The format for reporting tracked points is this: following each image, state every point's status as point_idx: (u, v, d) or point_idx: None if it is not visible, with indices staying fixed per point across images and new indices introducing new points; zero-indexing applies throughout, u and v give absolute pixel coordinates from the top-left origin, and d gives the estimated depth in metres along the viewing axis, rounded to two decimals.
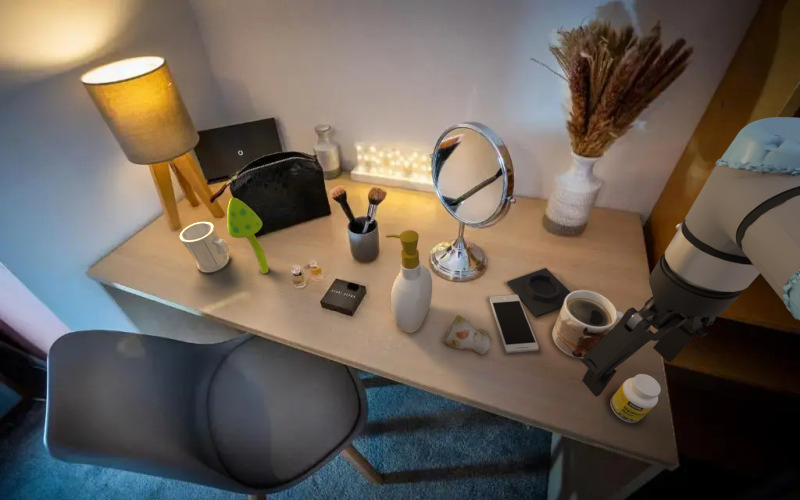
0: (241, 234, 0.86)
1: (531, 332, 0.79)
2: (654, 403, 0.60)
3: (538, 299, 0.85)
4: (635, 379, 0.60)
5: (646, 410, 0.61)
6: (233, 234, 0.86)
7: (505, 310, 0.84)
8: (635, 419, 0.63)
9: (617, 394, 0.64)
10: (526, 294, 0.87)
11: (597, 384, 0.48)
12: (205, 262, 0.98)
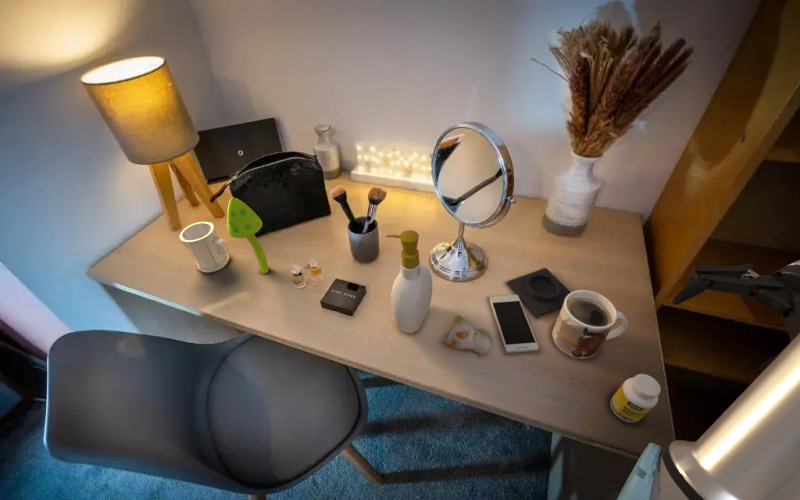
0: (241, 234, 0.86)
1: (531, 332, 0.79)
2: (654, 403, 0.60)
3: (538, 299, 0.85)
4: (635, 379, 0.60)
5: (646, 410, 0.61)
6: (233, 234, 0.86)
7: (505, 310, 0.84)
8: (635, 419, 0.63)
9: (617, 394, 0.64)
10: (526, 294, 0.87)
11: None
12: (205, 262, 0.98)
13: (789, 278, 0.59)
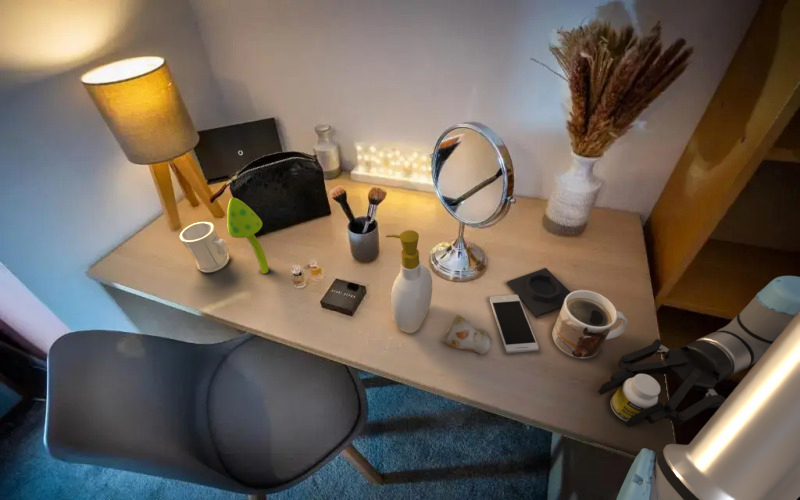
0: (241, 234, 0.86)
1: (531, 332, 0.79)
2: (654, 403, 0.60)
3: (538, 299, 0.85)
4: (635, 379, 0.60)
5: None
6: (233, 234, 0.86)
7: (505, 310, 0.84)
8: None
9: (617, 394, 0.64)
10: (526, 294, 0.87)
11: None
12: (205, 262, 0.98)
13: (694, 354, 0.65)
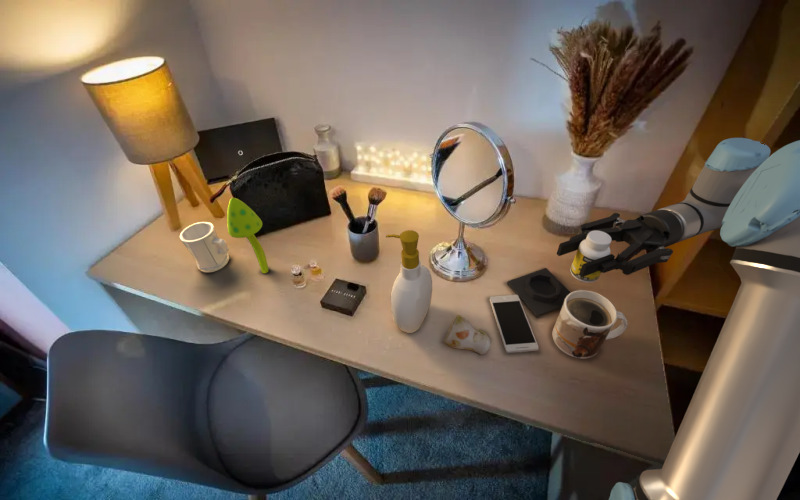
0: (241, 234, 0.86)
1: (531, 332, 0.79)
2: (606, 254, 0.64)
3: (538, 299, 0.85)
4: (589, 234, 0.65)
5: None
6: (233, 234, 0.86)
7: (505, 310, 0.84)
8: (591, 277, 0.67)
9: (575, 256, 0.69)
10: (526, 294, 0.87)
11: None
12: (205, 262, 0.98)
13: (648, 220, 0.69)
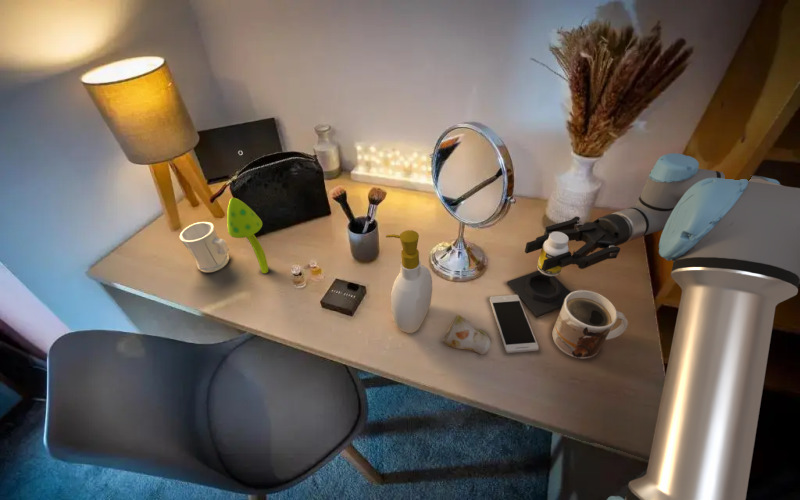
0: (241, 234, 0.86)
1: (531, 332, 0.79)
2: (564, 252, 0.76)
3: (538, 299, 0.85)
4: (550, 234, 0.77)
5: None
6: (233, 234, 0.86)
7: (505, 310, 0.84)
8: (553, 271, 0.80)
9: None
10: (526, 294, 0.87)
11: None
12: (205, 262, 0.98)
13: (602, 223, 0.82)
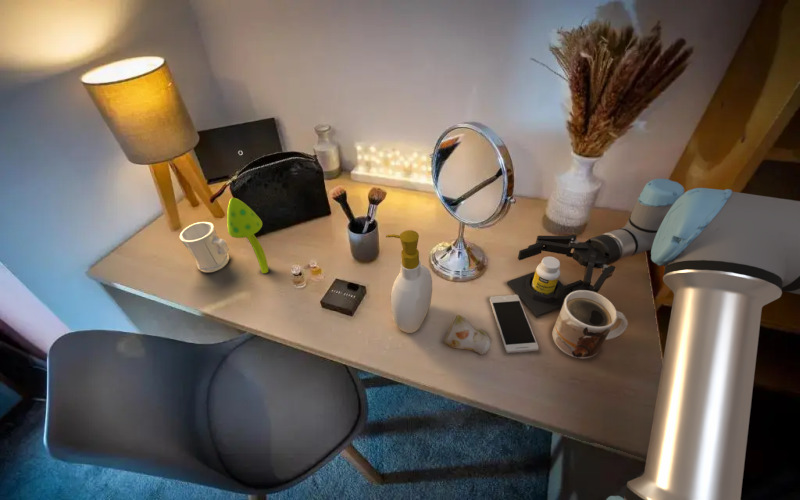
0: (241, 234, 0.86)
1: (531, 332, 0.79)
2: (556, 276, 0.81)
3: (538, 299, 0.85)
4: (543, 259, 0.82)
5: (551, 282, 0.82)
6: (233, 234, 0.86)
7: (505, 310, 0.84)
8: (546, 293, 0.85)
9: (534, 276, 0.86)
10: (526, 294, 0.87)
11: None
12: (205, 262, 0.98)
13: (594, 243, 0.86)
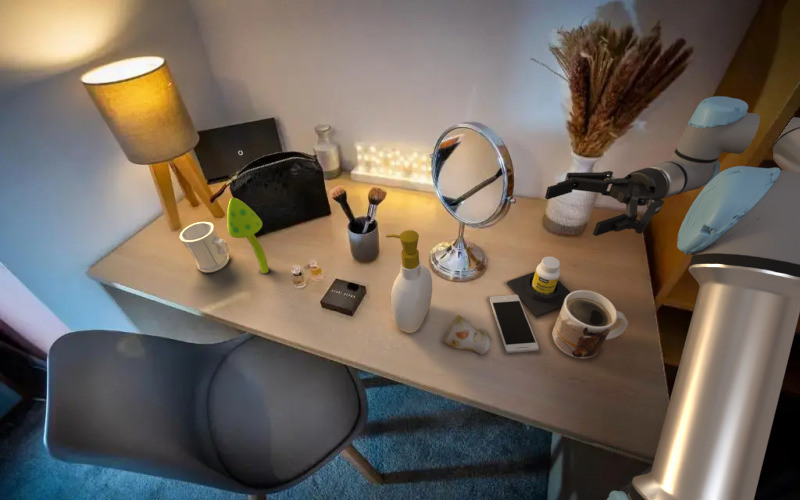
0: (241, 234, 0.86)
1: (531, 332, 0.79)
2: (556, 276, 0.81)
3: (538, 299, 0.85)
4: (543, 259, 0.82)
5: (551, 282, 0.82)
6: (233, 234, 0.86)
7: (505, 310, 0.84)
8: (546, 293, 0.85)
9: (534, 276, 0.86)
10: (526, 294, 0.87)
11: None
12: (205, 262, 0.98)
13: (635, 177, 0.73)
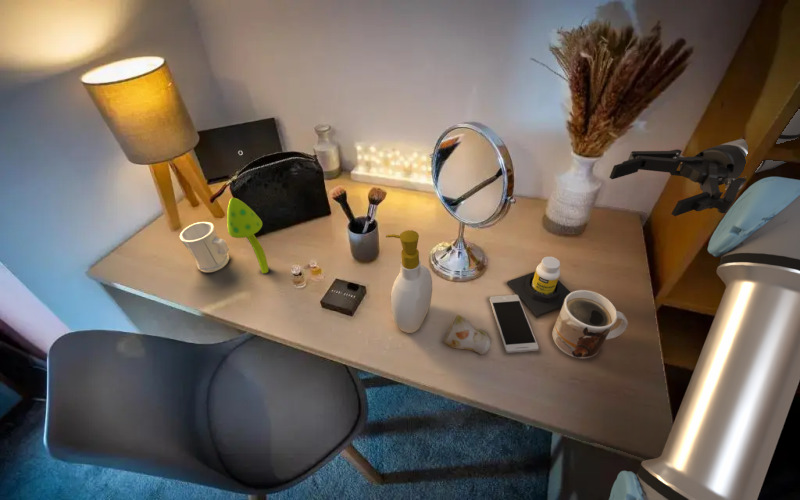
0: (241, 234, 0.86)
1: (531, 332, 0.79)
2: (556, 276, 0.81)
3: (538, 299, 0.85)
4: (543, 259, 0.82)
5: (551, 282, 0.82)
6: (233, 234, 0.86)
7: (505, 310, 0.84)
8: (546, 293, 0.85)
9: (534, 276, 0.86)
10: (526, 294, 0.87)
11: None
12: (205, 262, 0.98)
13: (709, 155, 0.68)
